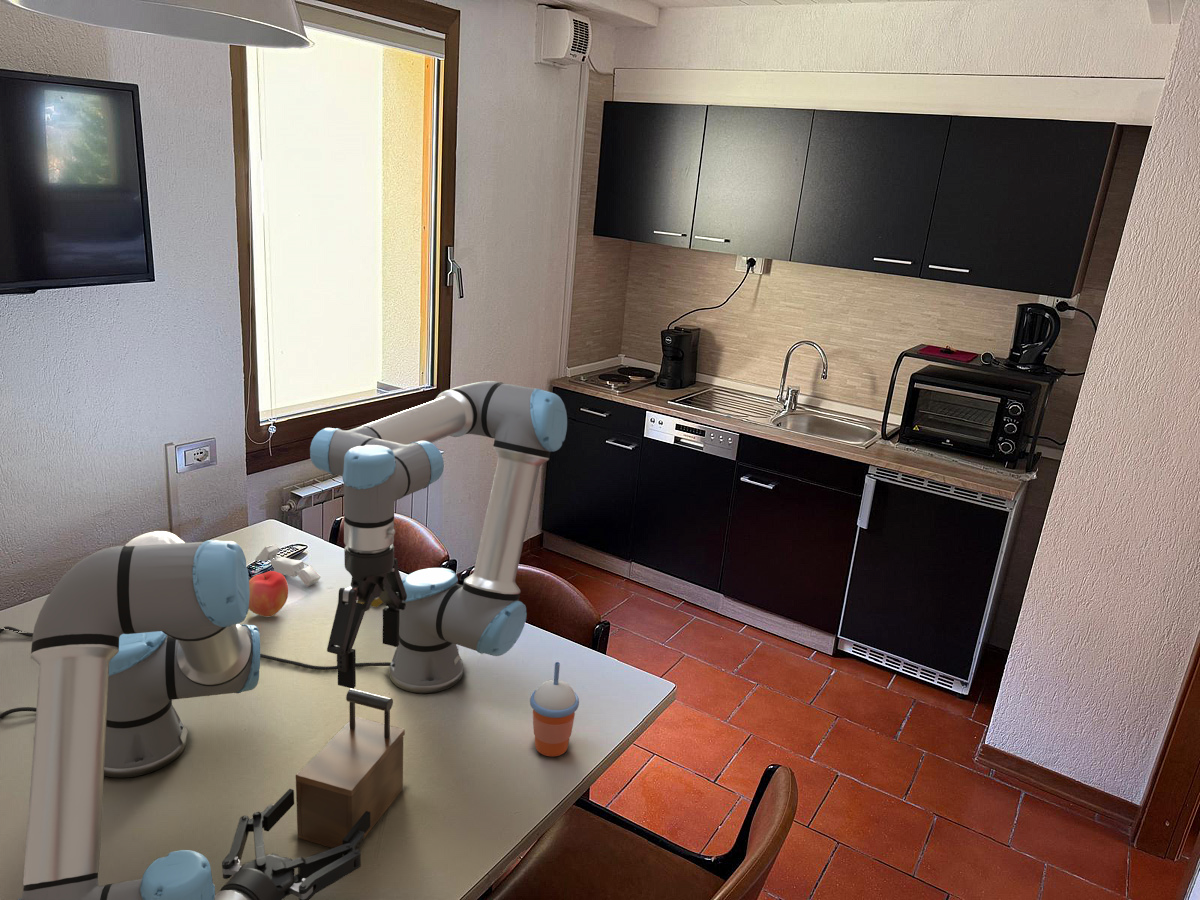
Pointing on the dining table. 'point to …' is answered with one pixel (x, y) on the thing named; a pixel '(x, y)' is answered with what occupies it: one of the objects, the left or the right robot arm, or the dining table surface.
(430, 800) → the dining table surface
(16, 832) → the dining table surface
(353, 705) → the lid
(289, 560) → the white angular piece
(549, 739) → the cup with straw
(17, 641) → the dining table surface
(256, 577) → the apple
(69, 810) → the left robot arm
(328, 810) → the chest
